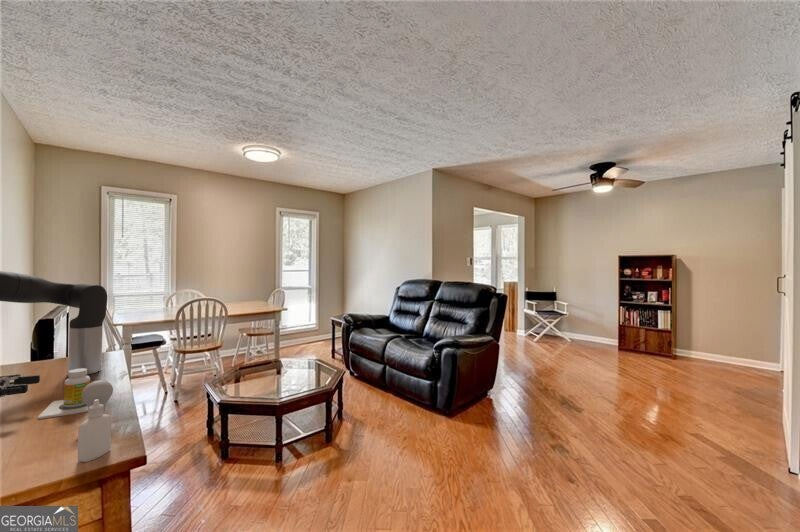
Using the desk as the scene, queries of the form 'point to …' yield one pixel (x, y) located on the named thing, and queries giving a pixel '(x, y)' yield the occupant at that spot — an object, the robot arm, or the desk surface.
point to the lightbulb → (97, 393)
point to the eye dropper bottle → (94, 434)
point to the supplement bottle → (75, 387)
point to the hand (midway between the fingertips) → (33, 383)
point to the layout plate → (61, 410)
